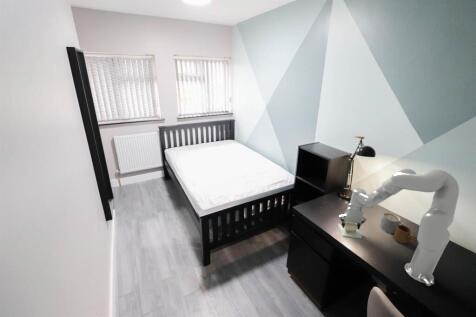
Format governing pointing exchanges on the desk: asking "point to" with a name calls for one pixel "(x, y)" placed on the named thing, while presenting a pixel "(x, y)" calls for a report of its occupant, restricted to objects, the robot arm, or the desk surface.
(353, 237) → the trivet
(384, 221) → the coffee mug
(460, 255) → the desk surface
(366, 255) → the desk surface
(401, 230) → the mug
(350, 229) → the maple block
